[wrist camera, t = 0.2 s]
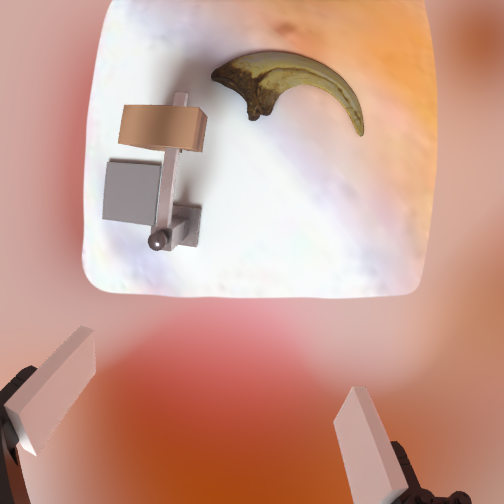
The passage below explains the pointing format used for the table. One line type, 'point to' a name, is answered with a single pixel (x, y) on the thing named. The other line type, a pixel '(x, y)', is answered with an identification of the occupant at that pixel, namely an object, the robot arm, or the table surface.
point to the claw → (283, 82)
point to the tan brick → (163, 127)
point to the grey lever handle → (170, 216)
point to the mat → (131, 193)
